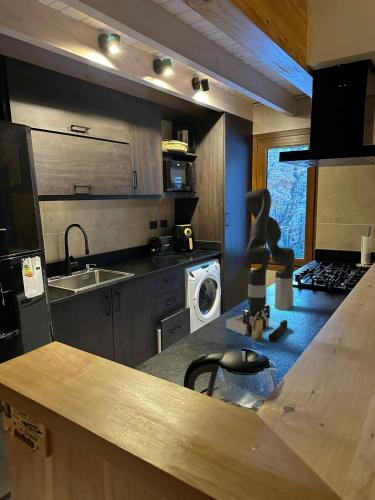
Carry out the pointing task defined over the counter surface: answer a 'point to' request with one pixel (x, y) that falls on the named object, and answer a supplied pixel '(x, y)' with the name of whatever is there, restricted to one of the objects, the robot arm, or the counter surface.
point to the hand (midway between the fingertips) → (256, 330)
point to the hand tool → (278, 331)
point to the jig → (239, 324)
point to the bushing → (257, 329)
